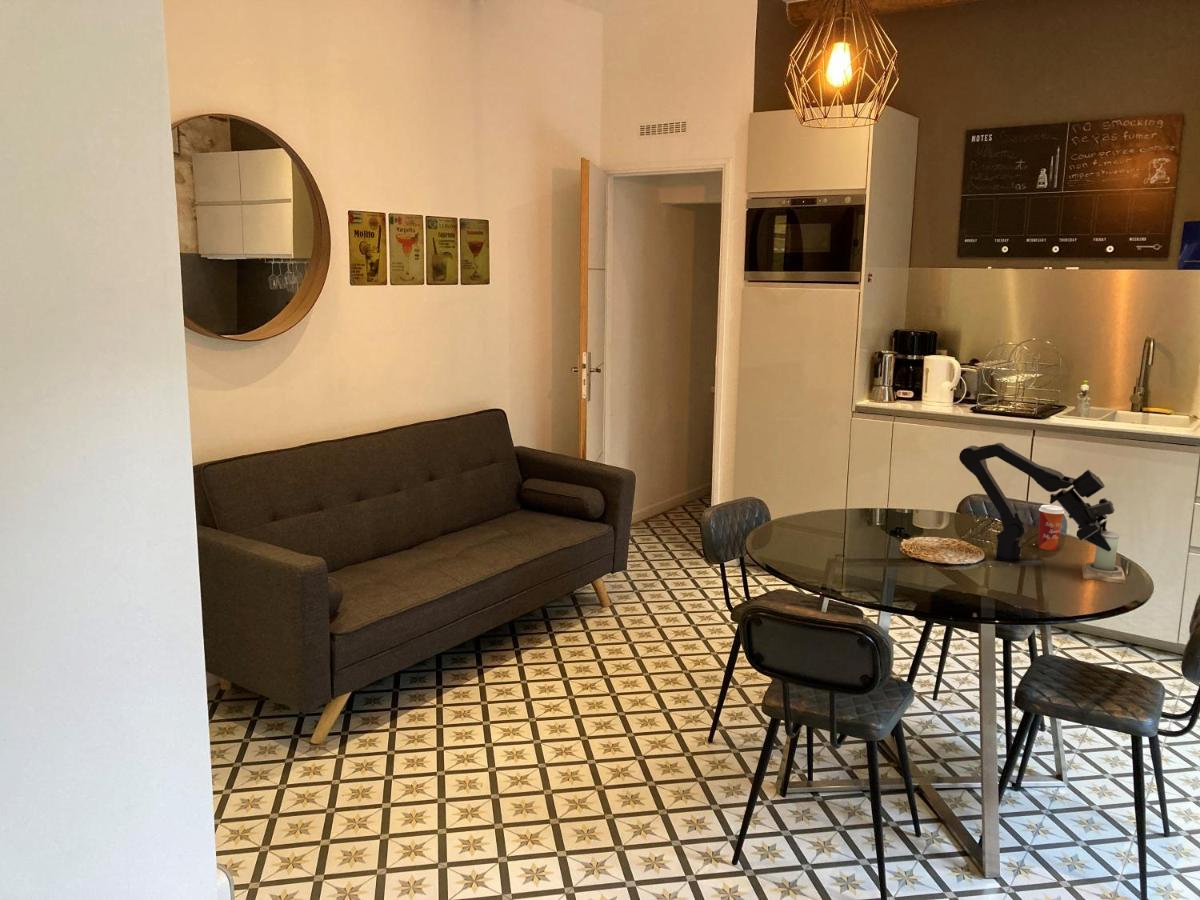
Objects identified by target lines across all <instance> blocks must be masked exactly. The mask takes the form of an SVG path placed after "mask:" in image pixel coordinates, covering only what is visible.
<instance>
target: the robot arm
mask: <svg viewBox="0 0 1200 900" xmlns="http://www.w3.org/2000/svg"><path fill="white" fill-rule="evenodd" d="M990 458H998V459H999V460H1002V461H1003V462H1005V463H1007V464H1008V465H1010V466H1012V467H1014V468H1016V469H1017V470H1018V471H1021V472H1023V473H1024V474H1026V475H1028V476H1030V478H1032V479H1033V481H1035V483H1037V485H1038V486H1040V487H1041V488H1042V489H1043V490H1045V491H1046V492H1049V493H1051V494H1050V495H1049V497H1050V500H1049V505H1053V503H1056V502H1058V503H1059V505H1060V507H1062V508H1063V510H1064V511H1066V513H1067V514H1068V516H1067V517H1068V518H1069V519H1072V520H1073V521H1074V522H1075V524H1077V528H1078V530H1077V531H1076V537H1077V538H1078V539H1079V540H1080V541H1082V540H1083V541H1085V542H1086V541H1087V542H1088V543H1091V544H1092V545H1094V546H1095V547H1096V546H1099V547H1100V548H1102V549H1104V550H1106V551H1110V550H1111V547H1110V546H1109V544H1108V543H1107V541H1106V539H1105V538H1104V536H1103V535H1102V531H1108V530H1107V522H1108V520H1106V519H1108V516H1107V515H1112V514H1114V512H1115V508H1114V504H1113V502H1112V501H1111V500H1108V499H1106V498H1105V497H1104V498H1100V499H1099V500H1098V503H1096V504H1093V505H1091V504H1090V503H1089V502H1085V501H1084V499H1082V498H1084V497H1086V498H1091V497H1092V496H1093V495H1095V494H1096V493H1098V492H1100V491H1101V490H1103V489H1104V488H1105V484H1104V482H1103V481H1102V480H1101V478H1100V476H1097V475H1096V474H1095V473H1093V472H1092V471H1091V470H1090V469H1086V471H1084V472H1083V473H1082V474H1081V475H1079V476H1078V477H1076V478H1074V477H1070V476H1066V475H1064V474H1063V473H1062V472H1061V471H1059V470H1056V469H1053V468H1050V467H1046V466H1044V465H1041V464H1038V463H1036V462H1034V461H1032V460H1031V459H1029V458H1027V457H1025V456H1024V455H1022V454H1021V453H1018V452H1017V451H1015V450H1013V449H1011V448H1010V447H1008V446H1006V445H1005V444H1004V443H1002V442H997V443H994V444H987V445H983V446H978V445H969V446H967V447H964V448H963V449H961V451H960V452H959V456H958V459H959V461H960V463H961V464H962V465H963V466H964V467H965V468H966V469H967V471H969V472H970V473H971V474H972V475H974V476H975V477H976V479H977V481H978V483H979V484H980V485H981V487H982V488H983V490H984V492H985V494H986V495H987V496H988V498H989V500H990V502H991V503H992V505H993V507H994V508H995V509H996V511H997V512H998V515H999V517H1000V522H1001V525H1002V527H1003V528H1002V529H1001V531H999V532H998V533H997V534H996V536H995V537H996V540H997V543H996V545H997V547H996V553H995V556H994V557H995V560H999V561H1006V562H1011V563H1012V562H1013V563H1018V561H1019V560H1020V558H1021V551H1022V550H1021V548H1022V545H1021V544H1020V538H1021V537H1023V536H1024V535H1025V534H1026V533H1027V531H1028V529H1029V522H1028V521H1029V519H1028V518H1027V517H1026V516H1025V514H1024V511H1023V510H1022V509H1021V508H1020V509H1019V510H1018V511H1017V509H1015V508H1014V507H1013V506H1012V505H1011V503H1010V502H1009V500H1008V498H1007V497H1006V495H1005V494H1004V492H1003V491H1002V488H1001V487H1000V485H999V484H998V483H997V481H996V480H995V477H994V476H993V474H992V473H991V471H990V470H989V468H988V463H987V459H990ZM1071 486H1072V487H1071ZM1070 487H1071V488H1070ZM1068 488H1069V489H1068ZM1066 489H1067V490H1066ZM1057 491H1058V492H1057ZM1056 492H1057V493H1056ZM1103 520H1104V521H1103Z"/></svg>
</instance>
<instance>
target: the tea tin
mask: <svg viewBox="0 0 1200 900" xmlns="http://www.w3.org/2000/svg"><path fill="white" fill-rule="evenodd" d="M1102 535H1103V536H1104V538H1105V539H1106V541H1107V543H1108V544H1109V546H1110V547H1111V550H1110V551H1106V550H1104V549H1102V548H1100V547H1099V546H1096V545H1095V551H1094V552H1095V553H1094V559H1093V562H1094V566H1093V568H1095V569H1098V570H1104V571H1114V569H1115V566H1116V559H1117V551H1118V546H1119V538H1120V534H1119V533H1118V532H1114V531H1111V530H1110V531H1108V530H1107V531H1102Z"/></svg>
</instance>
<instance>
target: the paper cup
mask: <svg viewBox="0 0 1200 900" xmlns="http://www.w3.org/2000/svg"><path fill="white" fill-rule="evenodd" d="M1038 511H1039V515H1038V516H1039V517H1038V518H1039V519H1038V520H1039V521H1038V542H1037V543H1038V545H1037V546H1038V548H1039V549H1040V548H1041V549H1040V550H1044V549H1045V551H1056V550H1057V548H1058V544H1059V539H1060V533H1061V528H1062V522H1063V517H1064V514H1065V510H1064V508H1063V507H1062V506H1058V505H1053V504H1042V505H1040V507H1039V509H1038ZM1055 549H1056V550H1055Z"/></svg>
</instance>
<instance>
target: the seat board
mask: <svg viewBox="0 0 1200 900" xmlns="http://www.w3.org/2000/svg"><path fill="white" fill-rule="evenodd" d="M1093 566H1094V561H1092V562H1086V563H1085V564H1081V570H1082V578H1083V579H1086V580H1096V581H1103V582H1108V583H1118V584H1123V585H1126V582H1127V581H1126V580H1127V579H1126V576H1125V572H1124V570H1123V567H1120V566H1118V565H1115V569H1114V571H1104V570H1098V569H1095V568H1093Z"/></svg>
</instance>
